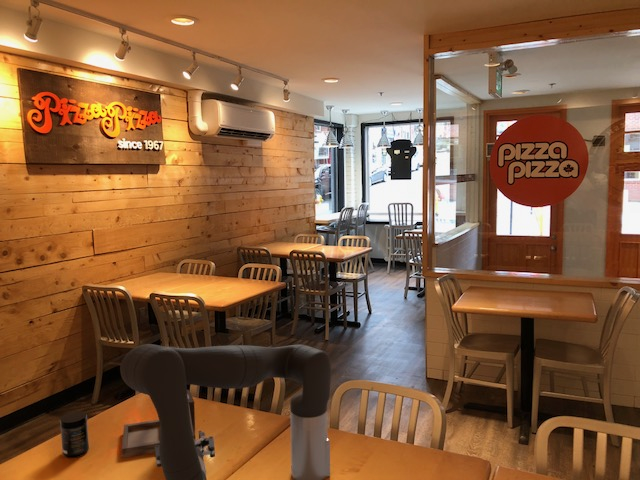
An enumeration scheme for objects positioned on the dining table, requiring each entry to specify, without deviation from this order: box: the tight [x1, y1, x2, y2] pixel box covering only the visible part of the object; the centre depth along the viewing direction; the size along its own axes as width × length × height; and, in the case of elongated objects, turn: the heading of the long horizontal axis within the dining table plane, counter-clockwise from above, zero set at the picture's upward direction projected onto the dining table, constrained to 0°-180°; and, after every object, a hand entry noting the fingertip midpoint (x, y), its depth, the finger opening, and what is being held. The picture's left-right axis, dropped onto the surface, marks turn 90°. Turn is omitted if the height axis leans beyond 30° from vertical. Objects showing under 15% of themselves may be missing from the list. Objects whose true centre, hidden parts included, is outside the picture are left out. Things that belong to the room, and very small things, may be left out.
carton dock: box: [121, 419, 160, 458], centre depth 150 cm, size 11×14×2 cm
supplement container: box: [59, 410, 90, 459], centre depth 144 cm, size 7×7×10 cm
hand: (183, 436), depth 136 cm, fingers open, 8 cm apart
